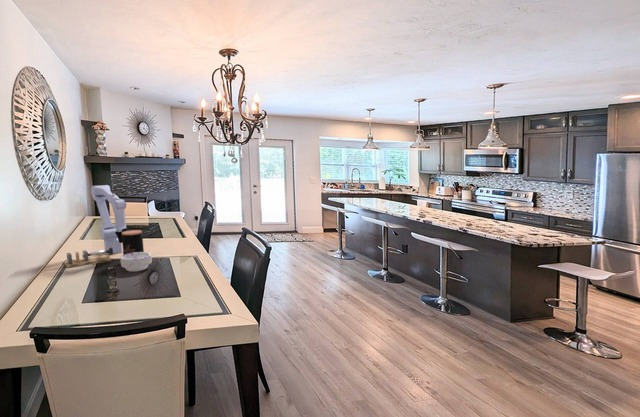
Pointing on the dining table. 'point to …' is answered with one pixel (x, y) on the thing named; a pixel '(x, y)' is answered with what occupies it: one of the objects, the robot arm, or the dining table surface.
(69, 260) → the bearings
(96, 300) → the dining table surface
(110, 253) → the shaft
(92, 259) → the base board
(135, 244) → the coffee jar
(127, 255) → the paper bowls
